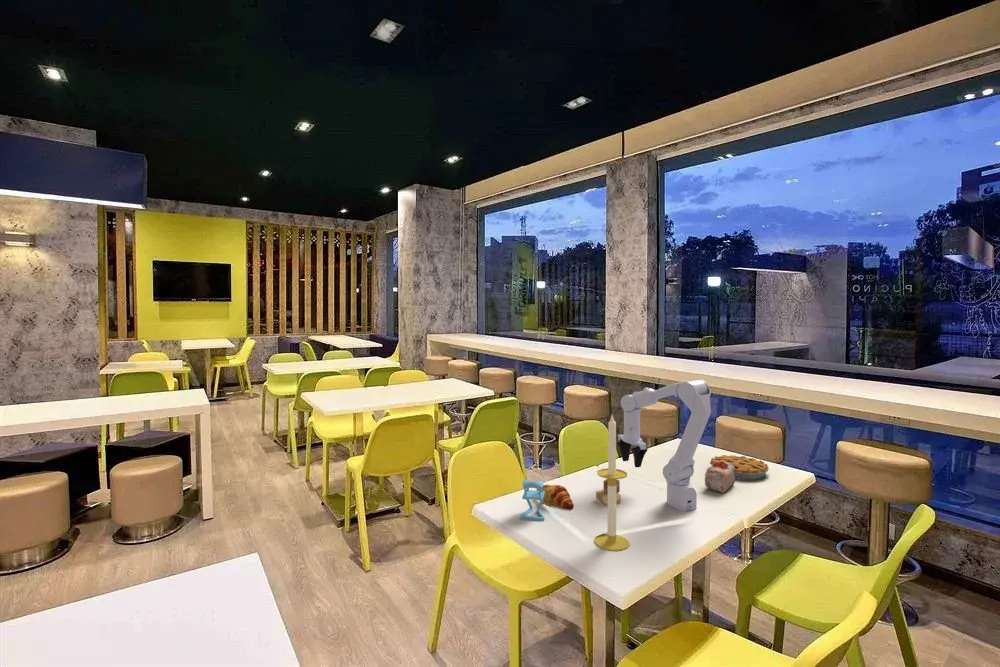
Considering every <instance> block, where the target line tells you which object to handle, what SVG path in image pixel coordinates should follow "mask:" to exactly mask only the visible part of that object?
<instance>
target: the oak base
mask: <svg viewBox="0 0 1000 667" xmlns="http://www.w3.org/2000/svg"><path fill="white" fill-rule="evenodd" d="M595 499H596V500H597V501H598V502H600V503H601V504H603V505H604V506H608V493H604V489H602V490H596V491H595ZM621 499H622V494H620V493H619V492H618V493H617V494H616V504H621V503H622V502H621V501H622V500H621ZM597 501H596V502H597ZM598 502H597V503H598ZM600 503H599V504H600ZM601 504H600V505H601ZM603 505H602V506H603ZM621 505H622V504H621ZM604 506H603V507H604Z"/></svg>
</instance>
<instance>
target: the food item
mask: <svg viewBox="0 0 1000 667" xmlns="http://www.w3.org/2000/svg"><path fill="white" fill-rule="evenodd" d="M734 467H735V466H733V465H732V464H730V463H727V462H718V463H717V462H715V461H714V466H713V467H712V466H709V467H708V468H707V469H706V471H705V474H704V485H705V488H707V489H708V490H711V491H713V492H716V493H719V494H725V493H726V491H728V490H729V488H731V487H732V486H733V485H735V482H736V478H735V468H734Z"/></svg>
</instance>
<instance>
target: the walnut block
mask: <svg viewBox="0 0 1000 667" xmlns="http://www.w3.org/2000/svg"><path fill="white" fill-rule="evenodd" d="M620 480H621V479H616V494H617V493H618V494H619V493H620V490H621V489H620V488H621V486H620V482H621V481H620ZM603 490H604V493H608V479H607V478H605V479H604V480H603Z"/></svg>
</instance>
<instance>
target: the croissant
mask: <svg viewBox="0 0 1000 667" xmlns="http://www.w3.org/2000/svg"><path fill="white" fill-rule="evenodd" d="M536 491H539V489H536ZM543 491H545V494H544V498H543V502H542V504H544V505H545V506H547V507H550V508H551V507H552V506H555V507H559V508H561V509H564V510H565V509H567V510H572V509H574V507H575V504H574V502H573V500H572V498H571V495H570V493H569V492H568V490H567V488H566V487H565V486H564V485H560V484H543Z"/></svg>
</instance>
